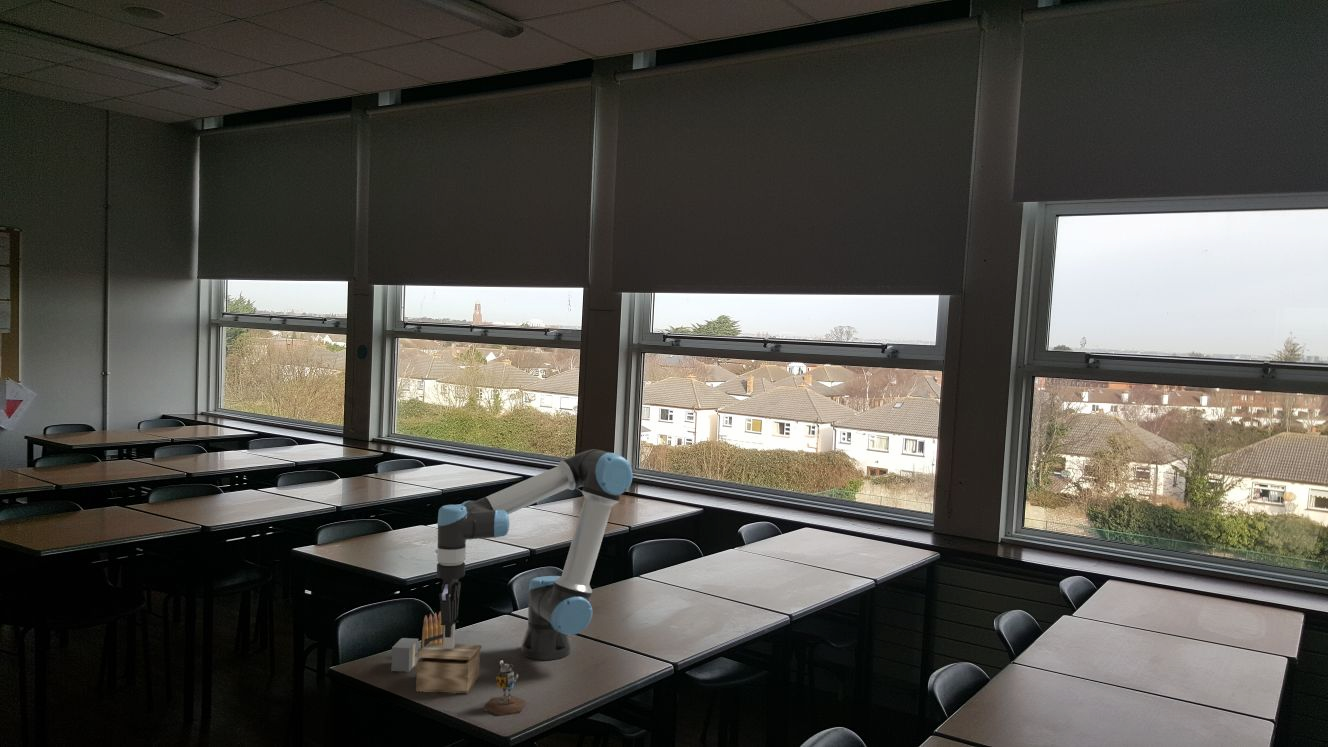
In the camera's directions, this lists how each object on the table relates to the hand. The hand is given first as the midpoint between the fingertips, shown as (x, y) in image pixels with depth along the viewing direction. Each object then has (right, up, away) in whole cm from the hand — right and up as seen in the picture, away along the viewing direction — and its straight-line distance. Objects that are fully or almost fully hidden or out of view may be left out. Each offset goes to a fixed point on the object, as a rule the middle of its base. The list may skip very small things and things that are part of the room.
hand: (448, 647), depth 234 cm
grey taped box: (-16, -10, +13) cm, 23 cm away
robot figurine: (+18, -12, -13) cm, 25 cm away
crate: (-1, -11, +1) cm, 11 cm away
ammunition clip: (-11, -10, +27) cm, 30 cm away
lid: (0, -2, +1) cm, 2 cm away
